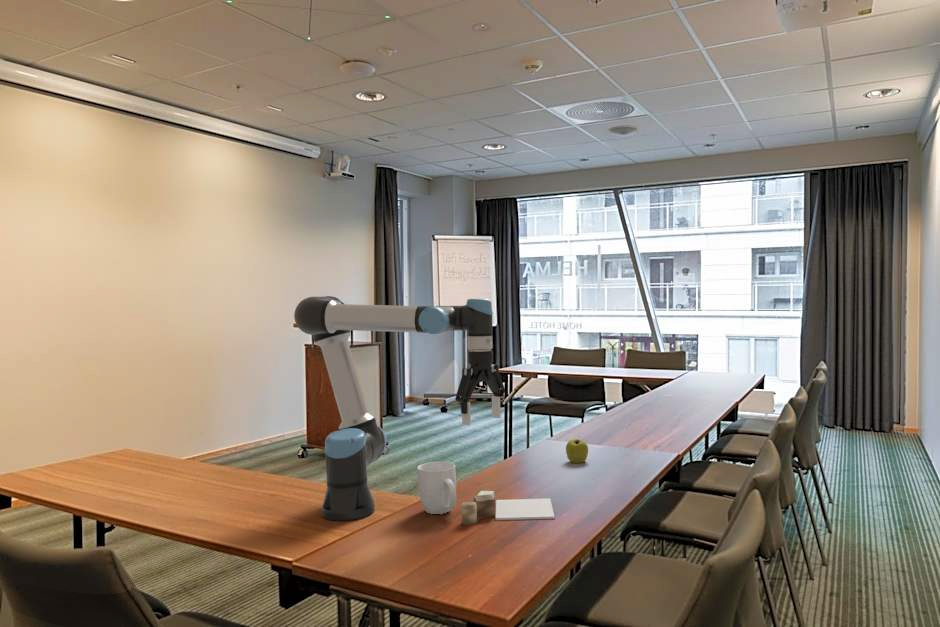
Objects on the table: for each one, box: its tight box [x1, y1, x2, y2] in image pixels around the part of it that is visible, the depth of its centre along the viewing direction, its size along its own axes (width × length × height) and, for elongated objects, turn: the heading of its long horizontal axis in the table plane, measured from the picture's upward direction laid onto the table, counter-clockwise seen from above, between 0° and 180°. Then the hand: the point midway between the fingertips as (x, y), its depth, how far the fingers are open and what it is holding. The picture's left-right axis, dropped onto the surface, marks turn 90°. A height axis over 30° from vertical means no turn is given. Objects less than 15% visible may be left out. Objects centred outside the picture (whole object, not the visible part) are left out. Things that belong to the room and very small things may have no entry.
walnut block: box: [473, 494, 496, 520], centre depth 181 cm, size 5×5×5 cm
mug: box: [416, 461, 457, 515], centre depth 184 cm, size 15×11×13 cm
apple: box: [565, 436, 589, 464], centre depth 234 cm, size 8×8×10 cm
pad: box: [495, 497, 555, 521], centre depth 184 cm, size 16×16×1 cm
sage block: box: [476, 490, 495, 499], centre depth 188 cm, size 4×6×4 cm, turn 166°
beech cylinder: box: [461, 501, 478, 526], centre depth 175 cm, size 4×4×5 cm
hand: (481, 421), depth 193 cm, fingers open, 13 cm apart
